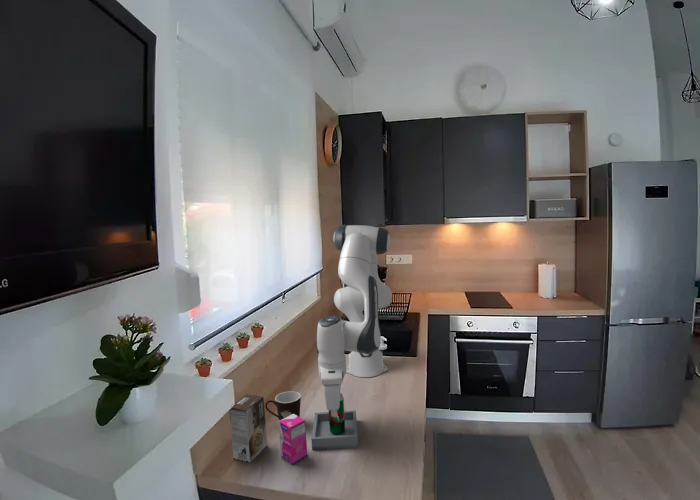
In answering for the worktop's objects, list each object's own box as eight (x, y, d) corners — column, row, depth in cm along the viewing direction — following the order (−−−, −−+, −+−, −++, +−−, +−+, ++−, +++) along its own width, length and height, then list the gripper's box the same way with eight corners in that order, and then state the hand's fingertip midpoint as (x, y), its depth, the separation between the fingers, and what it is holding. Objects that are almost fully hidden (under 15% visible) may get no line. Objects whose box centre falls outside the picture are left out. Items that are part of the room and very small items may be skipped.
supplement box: (280, 457, 118) (277, 420, 117) (296, 448, 122) (294, 412, 121) (292, 465, 114) (289, 427, 113) (308, 456, 118) (306, 419, 117)
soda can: (337, 425, 132) (335, 390, 131) (348, 430, 129) (346, 394, 128) (326, 431, 129) (324, 395, 128) (337, 437, 125) (335, 400, 124)
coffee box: (250, 442, 127) (246, 393, 125) (267, 445, 124) (264, 395, 123) (232, 459, 118) (228, 406, 117) (250, 463, 116) (246, 409, 114)
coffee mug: (307, 422, 137) (305, 394, 136) (291, 434, 130) (289, 405, 129) (281, 414, 143) (279, 387, 142) (264, 426, 136) (262, 398, 135)
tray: (315, 422, 137) (315, 412, 136) (356, 420, 137) (355, 410, 137) (312, 450, 121) (311, 438, 120) (358, 447, 121) (357, 436, 121)
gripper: (323, 357, 137) (326, 395, 138) (320, 381, 117) (323, 427, 118) (342, 356, 137) (344, 394, 139) (342, 380, 117) (344, 425, 118)
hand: (334, 410), depth 128 cm, fingers open, 5 cm apart
